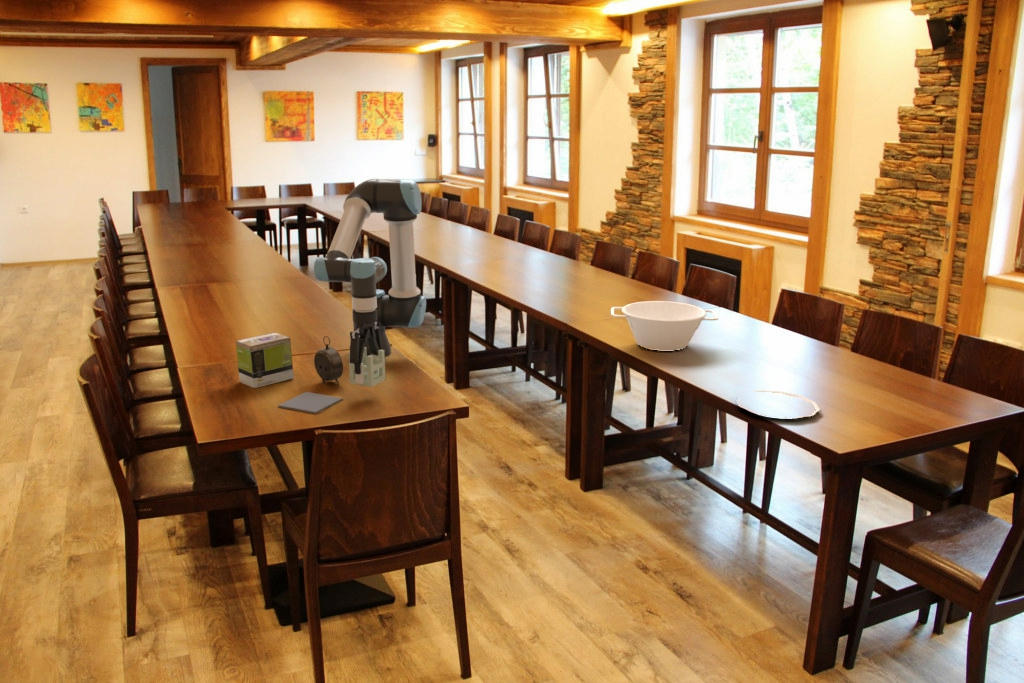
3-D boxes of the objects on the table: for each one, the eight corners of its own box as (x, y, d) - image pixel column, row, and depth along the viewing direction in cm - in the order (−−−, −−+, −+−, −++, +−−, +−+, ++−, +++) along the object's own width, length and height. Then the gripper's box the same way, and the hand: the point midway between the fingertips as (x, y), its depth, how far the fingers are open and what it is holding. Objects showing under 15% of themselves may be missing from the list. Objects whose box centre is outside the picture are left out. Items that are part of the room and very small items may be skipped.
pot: (609, 355, 330) (611, 318, 326) (609, 333, 361) (610, 299, 357) (719, 359, 327) (722, 322, 323) (709, 336, 357) (712, 302, 353)
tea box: (278, 372, 306) (276, 331, 302) (294, 379, 299) (291, 337, 295) (238, 382, 296) (235, 339, 292) (253, 389, 289) (250, 345, 285)
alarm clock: (345, 385, 294) (343, 337, 290) (331, 388, 290) (329, 340, 286) (325, 377, 301) (323, 331, 297) (312, 381, 298) (309, 334, 293)
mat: (306, 393, 285) (306, 391, 285) (342, 399, 280) (342, 398, 280) (278, 407, 273) (278, 405, 273) (315, 413, 267) (315, 412, 267)
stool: (364, 375, 286) (362, 346, 283) (385, 379, 283) (384, 350, 280) (349, 383, 279) (348, 353, 276) (371, 387, 276) (370, 357, 273)
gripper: (372, 300, 284) (375, 367, 291) (334, 315, 266) (338, 387, 273) (393, 302, 282) (395, 370, 288) (355, 318, 263) (359, 391, 270)
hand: (367, 378), depth 281 cm, fingers closed on stool, 8 cm apart
